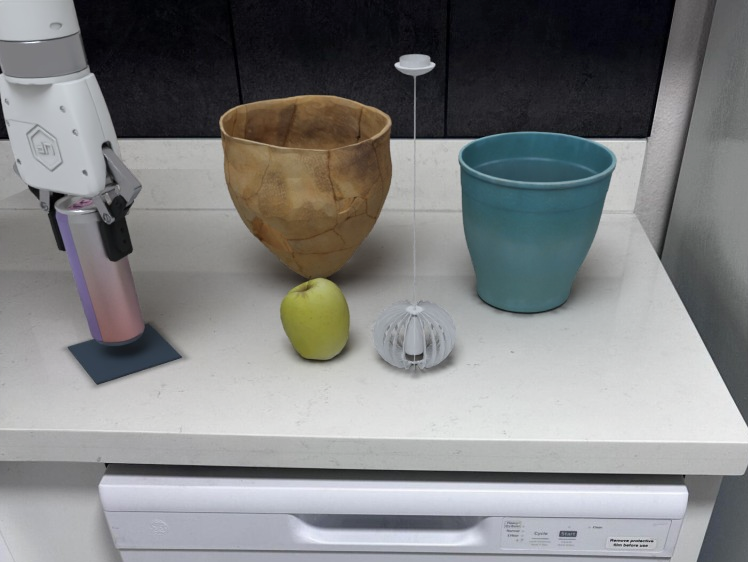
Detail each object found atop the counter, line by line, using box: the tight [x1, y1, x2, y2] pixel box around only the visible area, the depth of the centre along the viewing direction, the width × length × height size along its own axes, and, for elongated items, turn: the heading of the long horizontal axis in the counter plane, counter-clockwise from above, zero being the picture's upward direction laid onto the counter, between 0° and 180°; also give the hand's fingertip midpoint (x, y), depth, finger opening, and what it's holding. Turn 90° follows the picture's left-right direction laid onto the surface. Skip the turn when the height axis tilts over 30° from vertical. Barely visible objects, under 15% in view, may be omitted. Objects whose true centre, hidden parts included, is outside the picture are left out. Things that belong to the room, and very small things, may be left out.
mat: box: [67, 322, 183, 385], centre depth 92 cm, size 10×10×1 cm
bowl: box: [218, 94, 393, 281], centre depth 99 cm, size 21×20×20 cm
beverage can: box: [55, 193, 146, 346], centre depth 85 cm, size 6×6×15 cm
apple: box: [279, 276, 351, 361], centre depth 88 cm, size 8×8×10 cm
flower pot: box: [457, 131, 618, 313], centre depth 96 cm, size 18×18×17 cm
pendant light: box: [372, 53, 457, 371], centre depth 80 cm, size 9×9×30 cm
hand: (95, 250), depth 83 cm, fingers closed on beverage can, 6 cm apart
